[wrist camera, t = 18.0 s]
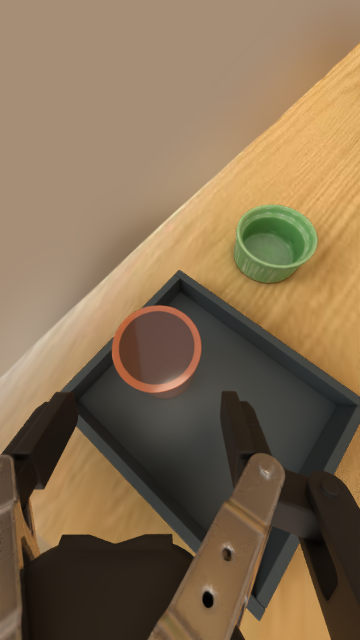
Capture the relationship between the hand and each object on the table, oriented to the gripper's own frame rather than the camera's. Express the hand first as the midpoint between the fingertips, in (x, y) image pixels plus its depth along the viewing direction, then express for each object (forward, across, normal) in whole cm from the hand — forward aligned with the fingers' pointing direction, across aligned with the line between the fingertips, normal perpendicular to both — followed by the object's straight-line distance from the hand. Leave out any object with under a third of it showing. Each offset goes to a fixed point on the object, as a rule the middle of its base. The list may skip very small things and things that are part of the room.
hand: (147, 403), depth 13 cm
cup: (+11, 0, +5) cm, 12 cm away
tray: (+9, -4, +8) cm, 13 cm away
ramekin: (+21, -13, -4) cm, 25 cm away
